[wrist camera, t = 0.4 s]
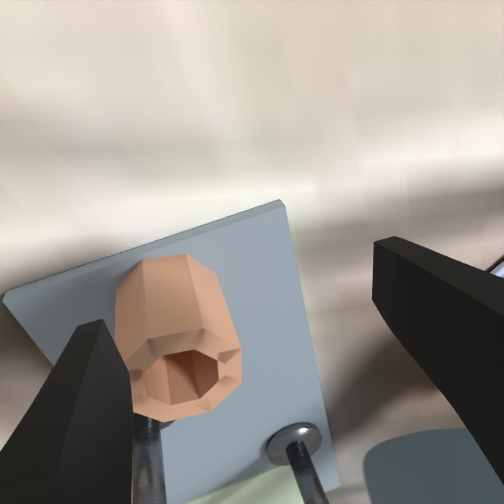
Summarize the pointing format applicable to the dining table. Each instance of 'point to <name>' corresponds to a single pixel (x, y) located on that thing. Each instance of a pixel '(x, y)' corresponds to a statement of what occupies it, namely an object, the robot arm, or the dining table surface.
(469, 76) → the dining table surface
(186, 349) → the octagonal hollow tube
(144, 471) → the posts
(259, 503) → the pad
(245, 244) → the board
